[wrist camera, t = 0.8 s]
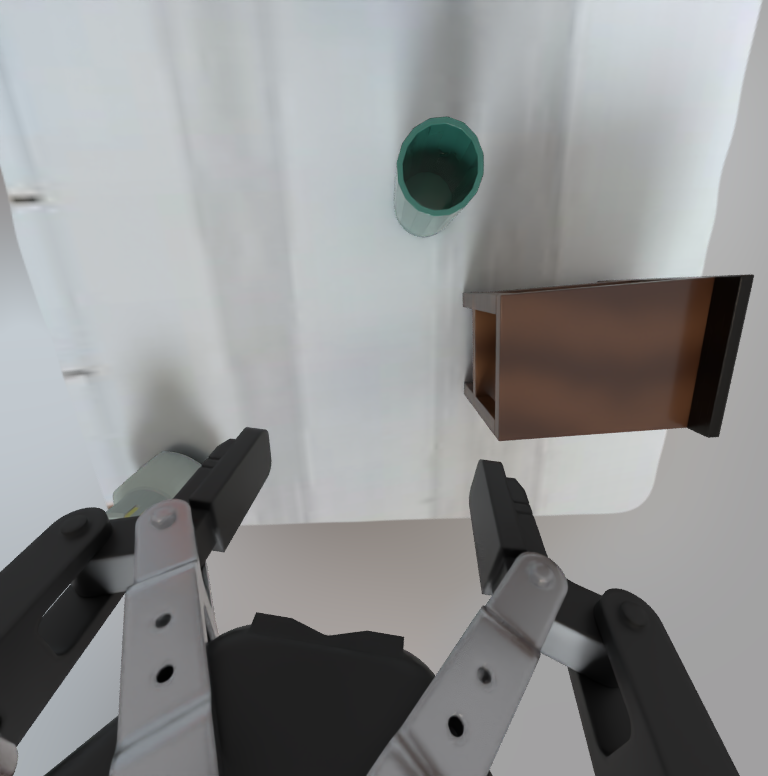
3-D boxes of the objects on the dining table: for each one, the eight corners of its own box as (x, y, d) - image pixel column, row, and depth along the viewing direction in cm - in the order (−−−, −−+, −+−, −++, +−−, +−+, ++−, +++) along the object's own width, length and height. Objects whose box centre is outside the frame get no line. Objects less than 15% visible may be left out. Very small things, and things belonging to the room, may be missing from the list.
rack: (462, 292, 34) (509, 295, 21) (611, 280, 34) (755, 274, 21) (464, 394, 37) (506, 452, 24) (600, 384, 37) (719, 437, 24)
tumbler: (391, 172, 31) (393, 121, 22) (453, 166, 31) (483, 112, 22) (396, 239, 33) (400, 219, 23) (455, 234, 33) (483, 211, 23)
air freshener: (179, 527, 43) (119, 596, 33) (127, 484, 41) (48, 543, 31) (238, 480, 41) (192, 539, 31) (186, 432, 39) (121, 478, 29)
